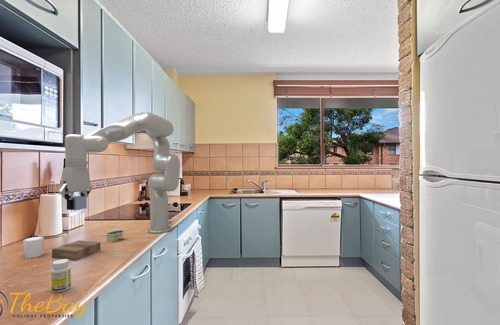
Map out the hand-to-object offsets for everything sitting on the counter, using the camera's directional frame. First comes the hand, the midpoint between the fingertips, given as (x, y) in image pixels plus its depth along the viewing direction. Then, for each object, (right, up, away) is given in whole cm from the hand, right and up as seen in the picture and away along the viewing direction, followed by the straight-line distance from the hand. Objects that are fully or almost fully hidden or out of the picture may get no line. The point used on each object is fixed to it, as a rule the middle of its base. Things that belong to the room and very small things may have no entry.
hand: (76, 207), depth 112 cm
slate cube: (0, -1, 0) cm, 1 cm away
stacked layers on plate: (+6, -20, +20) cm, 28 cm away
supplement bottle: (+15, -20, -31) cm, 39 cm away
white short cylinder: (-17, -20, -1) cm, 26 cm away
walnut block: (0, -20, 0) cm, 20 cm away
